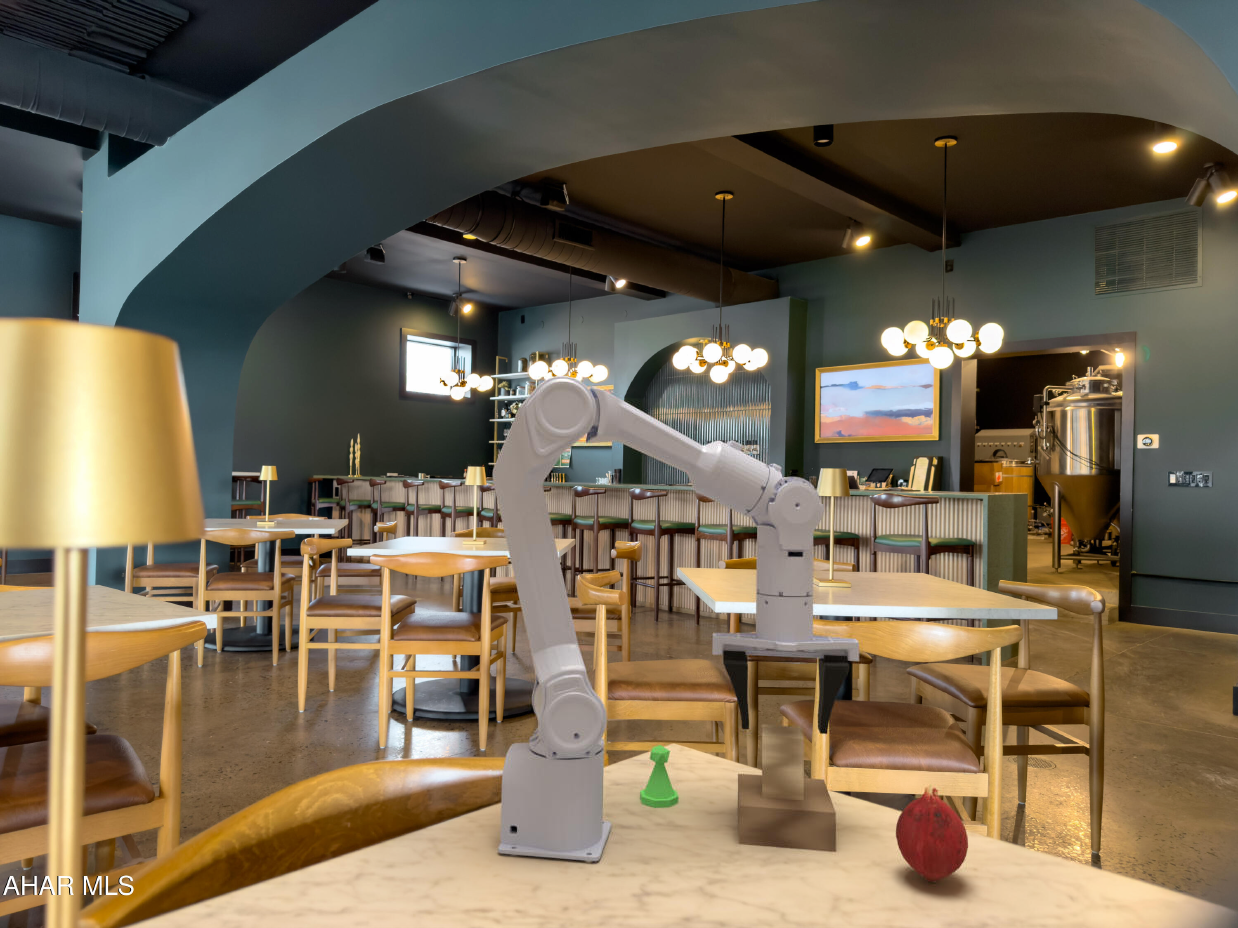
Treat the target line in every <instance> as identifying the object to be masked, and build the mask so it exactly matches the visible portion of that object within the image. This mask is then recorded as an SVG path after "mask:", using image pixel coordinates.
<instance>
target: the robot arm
mask: <svg viewBox="0 0 1238 928" xmlns="http://www.w3.org/2000/svg"><path fill="white" fill-rule="evenodd" d="M583 437H585V444H594V443H597V444H598V443H608V442H611V443H612V442H618V443H620V444H623V445H625V446H627V447H629V448H632V449H633V450H636V451H638V452H640V453H643V454H645V455H647V456H649V457H651V458H654V459H655V460H658V461H660V462H662V463H664V464H666V465H668V466H671V467H673V468H675V469H678V470H679V471H682V472H684V473H686V475H687V476H688V479H689V482H690V485H691V487H692V490H693V491H694V492H696V493H698V494H700V495H701V496H704V497H707V498H709V499H710V500H712V501H715V502H716V503H718V504H721V505H723V507H726V508H728V509H730V510H732V511H734V512H736V513H739V514H741V516H744V517H747V518H750V520H751V522H752V523H753V524H754V525H755V527H757V531H756V533H757V534H756V536H757V537H756V539H757V540H756V541H757V542H756V578H755V579H756V582H755V583H756V586H755V587H756V589H755V590H756V591H755V593H756V595H755V597H756V598H755V599H756V601H755V603H756V604H755V632H713V633H712V650H711V651H712V652H711V653H712V655H713V656H722V655H723V656H722V658H723V659H722V661H723V662H722V663H723V666H724V668H725V671H726V673H727V675H728V677H729V680H730V683H731V686H732V688H733V690H734V693H735V697H736V700H737V704H738V708H739V715H740V719H741V729H742V730H750V714H749V701H748V699H749V698H748V692H749V691H748V690H749V689H748V687H749V685H748V684H749V683H748V682H749V680H748V679H749V664H748V663H749V661H748V656H767V657H787V658H805V659H807V658H808V659H809V658H811V659H812V658H813V659H817V661H818V662H817V663H818V664H817V665H818V666H817V667H818V694H819V695H818V704H817V705H818V707H817V729H818V732H819V734H820V735H822V734H823V735H827V734H828V731H829V723H830V718H831V715H832V712H833V707H834V704H835V702H836V699H837V697H838V694H839V692H840V690H841V687H842V686H843V683H844V682H845V680H846V679H847V677H848V675H849V671H850V664H849V662H860V641H858V640H857V639H856V638H845V637H833V636H826V635H825V636H822V635H814V532H815V530H816V528H817V526H819V524H820V523H821V521H822V519H823V517H824V513H825V510H826V509H825V508H826V507H825V506H826V505H825V504H822V503H821V498H820V495H819V492H818V490H815V486H814V485H813V484H812V483H811V482H810V481H808V480H807V479H805V478H802V477H798V476H787V477H783V474H782V467H781V466H780V465H779V464H776V463H770V464H769V465H768V464H766V463H765V462H762V461H760V460H759V459H756V458H755V457H753V456H750V455H749V454H747V453H745V452H743V451H742V449H743V445H742V444H741V443H739V442H737V441H735V440H730V441H727V442H723V441H721V440H715V441H712V442H709V443H707V444H704V445H702V444H701V443H699V442H697V441H695V440H693V439H692V438H690V437H688V436H687V435H685V434H683V433H681V432H680V431H677V430H675V429H674V428H672V427H671V426H668V425H667V424H665V423H663V422H661V421H659V420H658V419H656V418H655V417H652V415H649V414H647V413H645V412H644V411H643V410H641V409H638V408H637V407H635V406H633V405H631V404H630V403H628V402H626V401H624V400H622V399H620V398H619V397H617V396H615V395H613V394H612V393H609V392H608V391H606V390H604V389H601V388H598V387H595V386H593V385H592V386H590V387H588V386H587V385H586V384H584V382H582V381H580V380H579V379H577V378H574V377H571V376H566V375H556V376H553V377H549V378H547V379H545V380H543V381H542V382H541V383H540V384H538V386H536V387H535V389H534V390H533V391H532V392H531V393H530V394H529V395H528V396H527V398H526V399H524V401H523V403H521V404H520V406H519V407H518V410H517V412H516V415H515V417H514V419H513V422H512V424H511V427H510V429H509V431H508V433H507V436H506V438H505V441H504V443H503V445H502V448H501V450H500V453H499V454H498V457H497V459H496V462H495V465H494V466H493V469H492V483H493V486H494V491H495V495H496V499H497V500H496V501H497V505H498V508H499V514H500V519H501V521H502V522H501V523H502V527H503V531H504V535H505V541H506V545H507V550H508V553H509V558H510V563H511V566H512V572H513V575H514V581H515V585H516V589H517V594H518V598H519V603H520V608H521V612H522V616H523V621H524V622H523V623H524V625H525V629H526V635H527V639H528V644H529V648H530V652H531V658H532V659H531V660H532V665H533V669H534V675H535V682H534V687H533V690H532V694H531V705H532V708H533V712H534V714H535V716H536V718H537V724H538V725H537V728H536V729H535V731H534V732H533V733H532V735H531V736H530V737H529V741H528V742H515V743H512V744H511V745H510V747H509V748H508V750H507V752H506V755H505V760H504V764H503V769H502V770H503V771H502V776H501V777H502V779H501V799H500V800H501V803H500V804H501V805H500V836H499V837H500V840H499V841H500V844H499V845H498V846H497V852H498V853H499V854H503V855H504V854H505V855H517V856H525V857H526V856H528V857H541V858H553V859H562V860H563V859H564V860H576V861H586V862H588V861H589V862H598V861H599V860H600V859H601V857H602V854H603V852H604V849H605V847H606V846H605V845H606V843H607V840H608V837H609V835H610V833H611V829H612V822H611V821H610V820H603V819H604V817H603V816H604V815H603V813H604V771H605V770H604V765H605V762H604V761H605V740H604V739H603V736H604V735H605V732H606V729H607V723H608V715H607V711H606V710H607V709H606V706H605V704H604V702H603V701H602V699H601V697H600V696H599V695H598V693H596V692H595V691H594V689H593V686H592V683H591V681H590V679H589V677H588V673H587V672H588V671H587V669H586V665H585V661H584V660H583V656H582V652H581V649H580V646H579V642H578V638H577V635H576V634H577V633H576V629H575V625H574V624H575V623H574V619H573V616H572V611H571V606H570V601H569V598H568V594H567V588H566V583H565V581H564V575H563V571H562V567H561V563H560V559H559V558H560V557H559V553H558V548H557V544H556V540H555V535H554V531H553V530H554V529H553V526H552V520H551V519H550V518H551V517H550V513H549V509H548V505H547V500H546V494H545V490H544V486H543V485H544V481H545V480H546V478H547V476H548V475H549V474H550V473H551V471H552V470H553V468H554V467H555V465H556V464H557V462H558V461H559V460H560V457H561V455H562V454H564V453H565V452H566V451H567V450H569V448H570V447H572V446H574V445H575V444H576V443H577V442H579V441H580V440H581V439H582V438H583ZM848 661H849V662H848Z"/></svg>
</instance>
